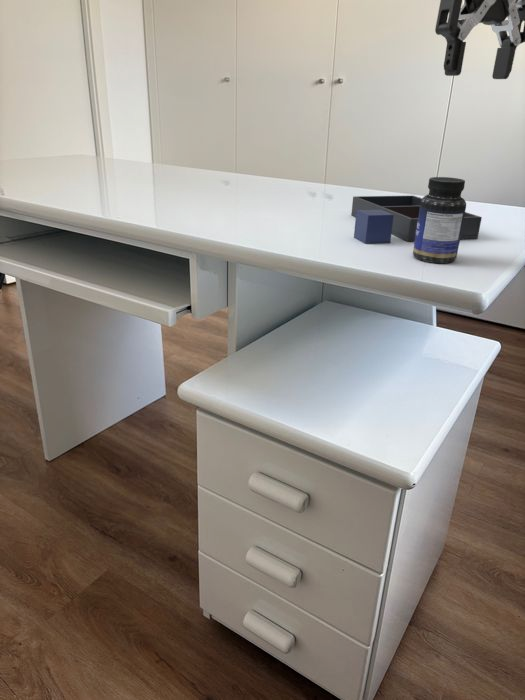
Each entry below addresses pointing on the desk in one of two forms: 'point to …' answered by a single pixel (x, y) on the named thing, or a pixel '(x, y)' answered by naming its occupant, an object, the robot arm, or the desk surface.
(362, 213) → the navy block
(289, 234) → the desk surface
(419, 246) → the pill bottle
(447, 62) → the robot arm
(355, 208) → the sorting tray
